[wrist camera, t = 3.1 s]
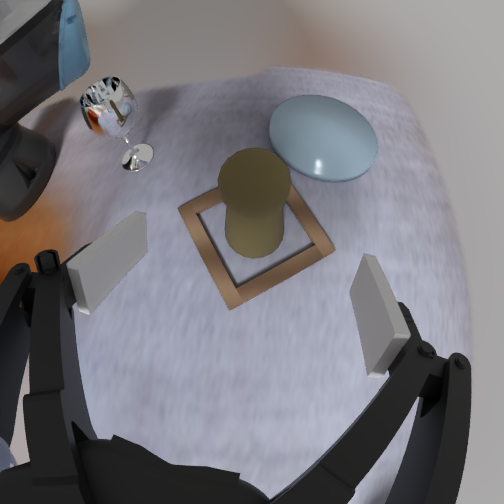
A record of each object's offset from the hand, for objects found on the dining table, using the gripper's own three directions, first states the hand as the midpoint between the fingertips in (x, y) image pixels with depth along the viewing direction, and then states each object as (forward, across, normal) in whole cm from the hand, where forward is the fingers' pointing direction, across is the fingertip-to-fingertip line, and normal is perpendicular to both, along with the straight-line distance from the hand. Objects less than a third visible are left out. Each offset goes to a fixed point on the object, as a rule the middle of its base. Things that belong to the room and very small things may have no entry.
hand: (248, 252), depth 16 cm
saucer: (+22, +5, +6) cm, 24 cm away
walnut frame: (+12, -1, -4) cm, 13 cm away
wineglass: (+17, -17, +1) cm, 24 cm away
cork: (+12, -1, -4) cm, 13 cm away
